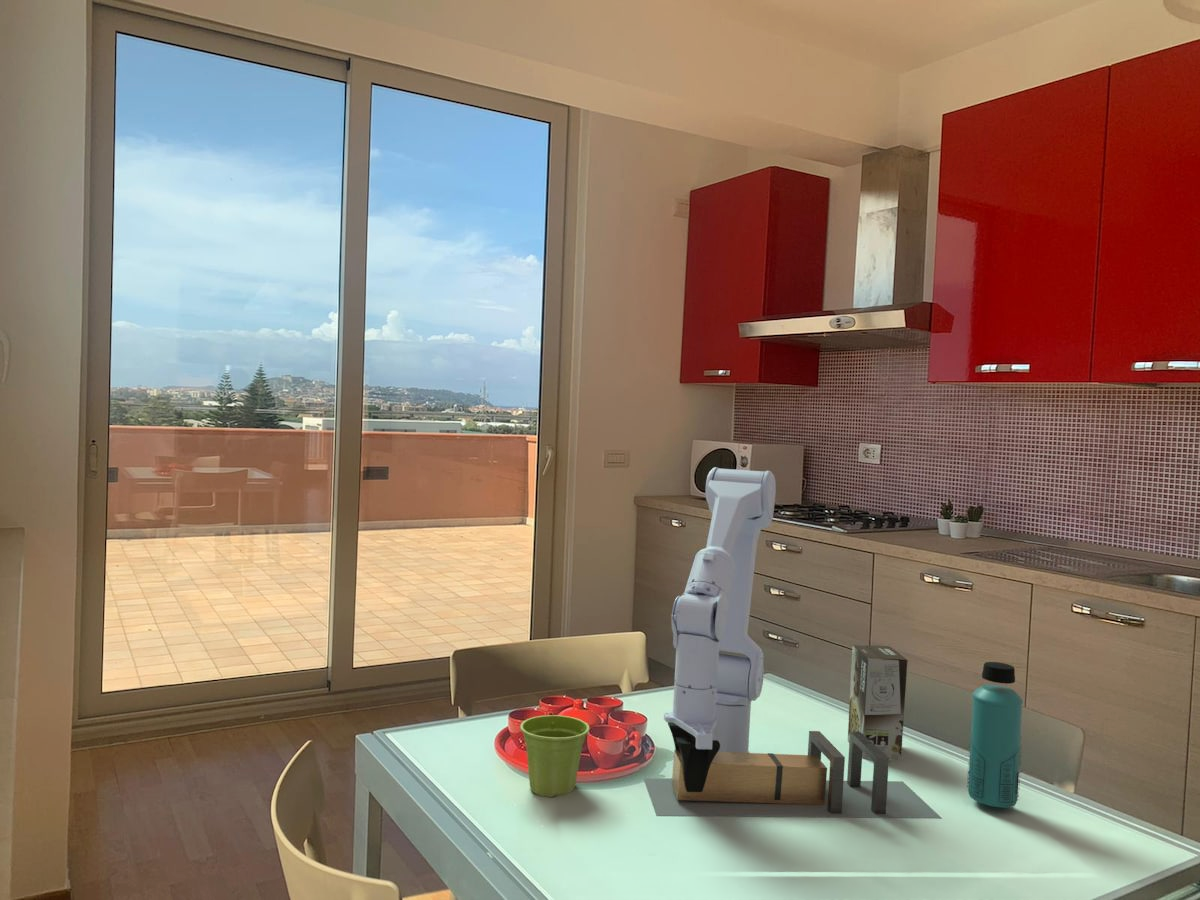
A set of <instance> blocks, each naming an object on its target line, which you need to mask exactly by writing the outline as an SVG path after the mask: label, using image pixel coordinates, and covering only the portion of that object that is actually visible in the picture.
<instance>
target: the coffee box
mask: <svg viewBox="0 0 1200 900" xmlns="http://www.w3.org/2000/svg"><path fill="white" fill-rule="evenodd" d="M851 646H852V647H851V648H852V651H851V652H852V653H851V664H850V665H851V667H850V686H849V687H850V689H849V705H848V706H849V709H848V726H847V727H848V728H847V742H848V743H849V741H850V732H861V733H862V734H863V735H864V736H865V737H866V738H868V739H869V740H870V741H871V742H872V743H873V744H874V745H875V746H876V747H877V748H879V749H880V750H881V751H882V752H883V753H884V754H885V755H886V756H887V757H889V761H902V754H903V753H902V751H903V737H904V736H903V734H904V721H905V720H904V717H905V704H906V701H905V700H906V692H907V691H906V690H907V687H906V686H907V675H908V674H907V673H908V672H907V671H908V662H909V660H908V658H906V657H905V656H903V655H902V654H901V653H899V652H898V651H896V650H895V649H894V648H893V647H891V646H890V645H867V644H866V645H861V644H860V645H857V644H853V645H851ZM863 759H866V760H871V759H870V758H869V757H868V756H867V755H866V754H865V753H864V752H863V751H862V760H863Z"/></svg>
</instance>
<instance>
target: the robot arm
mask: <svg viewBox="0 0 1200 900" xmlns="http://www.w3.org/2000/svg"><path fill="white" fill-rule="evenodd" d="M776 487H777V486H776V478H775V475H774V474H773V472H772V471H771V470H765V471H763V470H761V471H759V470H746V469H735V468H734V469H732V468H731V469H730V468H719V467H716V466H715V467H713V468H712V469H711V470H710V471H709V472H708V474H707V476H706V482H705V500H706V502H707V504H708V510H709V512H711V514H712V516H711V521H710V526H709V530H708V536H707V541H706V547H705V548H702V549H700V550H699V551H697V553H696V554H695V557H694V560H693V563H692V567H691V569H690V573H689V576H688V579H687V582H686V585H685V589H684V591H683V593H682V594H681V595H678V596H676V598H675V600H674V602H673V606H672V611H671V630H672V633H673V634H672V635H673V638H672V639H673V640H672V645H673V648H674V649H675V667H674V684H673V685H674V687H673V688H674V689H673V701H672V702H673V705H672V706H673V707H672V712H664V713H663V720H664V721H665V722H666V723H667V725H668V727H669V730H670V733H671V736H672V740H673V744H674V750H680V752H681V756H682V761H683V769H684V781H685V787H686V790H687V792H702V791H703V788H704V785H705V782H706V778H707V774H708V771H709V768H710V765H711V763H712V761H713V759H714V757H715V755H716V754H717V752H738V753H751V752H750V750H749V746H750V745H749V744H750V727H751V708H752V702H754V701H756V700H757V699H758V698H760V696H761V693H762V690H763V686H764V685H763V684H764V677H765V676H764V674H765V671H764V655H765V654H764V651H763V650H762V648H761V647H760V646H759V644H757V643H756V642H755V641H754V640H753V639H752V638H751V637H750V635H749V633H748V632H749V622H750V613H751V603H752V593H753V585H754V584H753V583H754V576H755V575H754V574H755V565H756V558H757V556H756V555H757V547H758V541H759V537H760V534H761V530H763V529H765V528H768V527H771V525H772V520H773V518H774V510H775V502H776V491H777V489H776ZM720 651H721V652H729V653H734V654H742V655H745V656H746V657H744V656H738V655H730V654H724V653H719V652H720Z"/></svg>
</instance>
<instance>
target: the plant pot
mask: <svg viewBox="0 0 1200 900" xmlns="http://www.w3.org/2000/svg"><path fill="white" fill-rule="evenodd" d="M519 729H520V731H521V732H522V733H523V740H524V742H525V746H526V747H525V748H526V757H527V768H528V780H529V788H530V789H531V791H532V793H534V794H536V795H539V796H543V797H547V798H549V797H550V798H552V797H554V796H563V795H568V794H569V793H572V792H574V790H575V789H576V784H577V776H578V771H579V766H580V760H581V753H582V749H583V744H584V742H585V740H586V736H587V734H588V733H589V731H590V726H589V724H588V723H587V722H585V721H583V720H582V719H580V718H577V717H572V716H568V715H561V714H559V715H558V714H557V715H556V714H555V715H553V714H552V715H551V714H547V715H539V716H533V717H530V718H527V719H525V720H523V721H522V722H521V723H520V727H519Z"/></svg>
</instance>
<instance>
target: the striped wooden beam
mask: <svg viewBox="0 0 1200 900" xmlns="http://www.w3.org/2000/svg"><path fill="white" fill-rule="evenodd" d="M827 774H828V767H827V766H826V765H825V764H824V763H823V762H822V760H821V761H820V759H819V758H818V757H817V756H815V755H808V754H789V753H788V754H786V753H785V754H784V753H783V754H782V753H769V752H767V753H761V752H750V753H738V752H717V754H716V755H715V757H714V759H713V761H712V763H711V765H710V768H709V771H708V774H707V778H706V782H705V785H704V788H703V791H702V792H687V790H686V787H685V781H684V769H683V761H682V756H681V752H680V750H675V749H674V750H673V762H672V776H671V778H672V788H673V791H674V793H675V795H676V798H677V800H694V801H724V802H753V803H783V804H812V805H824V802H825V789H826V780H827Z"/></svg>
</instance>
